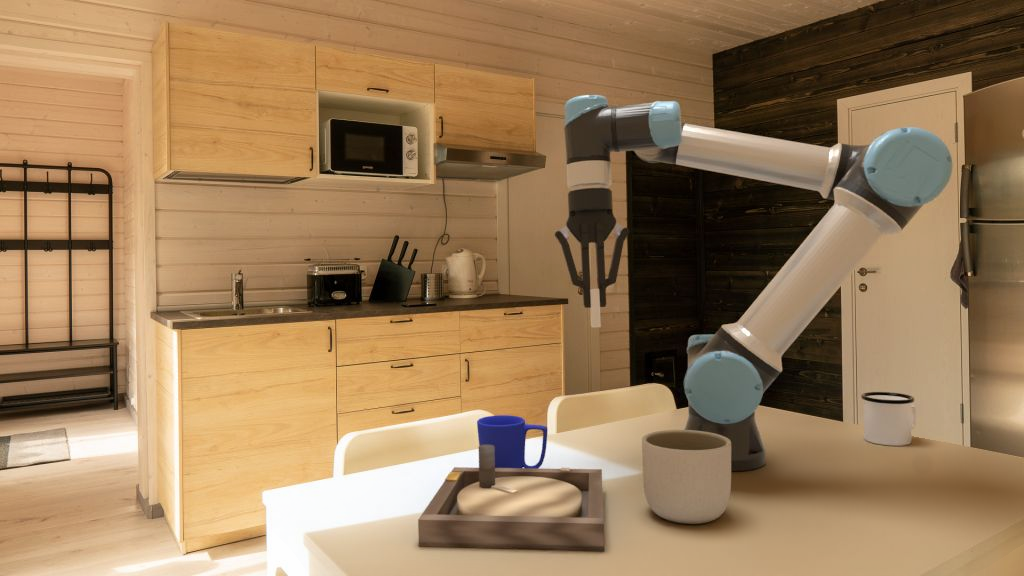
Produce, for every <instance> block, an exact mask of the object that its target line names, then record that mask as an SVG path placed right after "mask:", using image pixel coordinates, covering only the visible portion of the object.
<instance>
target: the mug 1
mask: <svg viewBox="0 0 1024 576" xmlns="http://www.w3.org/2000/svg"><path fill="white" fill-rule="evenodd" d="M476 424H477V425H476V426H477V436H478V447H479V446H480V445H494V448H495V468H541V466H542V465H543V464H544V460H545V457H546V451H547V445H548V443H547V442H548V427H547V426H546V425H541V424H530V423H529V424H528V423H526V420H525V418H523V417H521V416H516V415H509V414H505V415H503V414H501V415H500V414H499V415H490V416H484V417H481V418H479V419H477V421H476ZM531 430H539V431H542V447H541V453H540V457H539V460H538V462H537V463H536V464H535V465H528V464H527V463H526V459H525V458H526V457H525V456H526V440H527V439H526V438H527V432H528V431H531Z"/></svg>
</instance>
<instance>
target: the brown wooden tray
mask: <svg viewBox="0 0 1024 576" xmlns="http://www.w3.org/2000/svg"><path fill="white" fill-rule="evenodd" d="M602 469H603V468H599V469H598V468H592V469H591V468H570V467H561V468H542V467H539V468H524V467H523V468H495V478H501V477H513V476H532V477H544V478H551V479H556V480H560V481H564V482H566V483H569V484H571V485H573V486H575V487H577V488H578V489H579V490H580V492H581V494H582V514H581V516H580V518H573V517H526V516H479V515H458V509H457V496H458V493H459V492H460V491H461V490H462V489H464V488H465V487H467V486H469V485H471V484H474V483H477V482H479V467H465V466H463V467H460V466H459V467H457V466H456V467H455V466H454V467H453V468H452V470H451V471H449V473H448V475H446V477H445V478H444V481H443V482H442V484H441V486H440V487H439V489H438V490H437V492H436V493H435V494H434V496H433V497H432V499H431V500H430V501H429V503H428V505H427V506H426V508H425V509H424V510H423V511H422V513H421V515H420V516H419V517H418V520H417V525H418V526H417V527H418V530H417V531H418V547H434V548H435V547H436V548H437V547H438V548H440V547H441V548H468V549H469V548H471V549H472V548H476V549H477V548H478V549H506V550H508V549H509V550H510V549H511V550H512V549H514V550H515V549H516V550H542V551H543V550H547V551H548V550H551V551H552V550H553V551H555V550H556V551H584V552H585V551H587V552H588V551H589V552H591V551H592V552H605V520H604V519H605V518H604V517H605V516H604V514H605V513H604V497H603V496H604V491H603V489H604V488H603V470H602Z"/></svg>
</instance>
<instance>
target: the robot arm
mask: <svg viewBox="0 0 1024 576" xmlns="http://www.w3.org/2000/svg"><path fill="white" fill-rule="evenodd" d="M563 129H564V140H565V141H564V142H565V143H564V144H565V154H566V155H565V157H566V159H565V160H566V183H567V188H568V189H569V190H570V189H571V190H570V191H568V193H567V204H568V205H567V206H568V218H567V220H566V223H565V226H564V227H562V228H561V229H560V230H557V231H556V232H555V233H554V237H555V239H556V240H557V242H558V243H559V244H560V247H561V250H562V254H563V256H564V257H563V258H564V259H565V261H564V262H565V263H566V267H567V270H568V274H569V277H570V281H571V283H572V286H575V287H579V288H581V290H582V298H583V300H582V301H583V304H582V305H583V306H584V308H586V309H589V311H590V312H589V313H590V327H591V328H602V324H601V321H602V320H601V308H605V307H606V306H607V288H608V287H609V286H611V285H614V284H615V283H616V282H617V278H618V275H619V274H618V273H619V268H620V263H621V259H622V258H621V257H622V252H623V249H624V242H625V240H626V239H627V237H628V235H629V234H630V229H629V228H628V227H623V226H622V225H621V224H619V223H617V218H616V217H615V215H614V210H613V209H614V208H613V207H614V206H613V191H612V190H611V189H610V188H609V187H610V186H612V166H611V153H620V152H631V151H632V152H634V153H635V155H636V156H637V157H638V158H639V159H640V160H641V161H644V162H647V163H651V164H655V163H664V164H670V165H677V166H683V167H688V168H693V169H698V170H703V171H710V172H715V173H721V174H725V175H730V176H736V177H742V178H747V179H753V180H757V181H763V182H768V183H772V184H773V183H774V184H778V185H784V186H790V187H794V188H800V189H805V190H811V191H817V192H818V193H820V195H821V197H822V198H823V199H827V200H832V201H834V204H833V205H832V206H831V208H830V209H829V210H828V211H827V213H826V214H825V215H824V216H823V217H822V218H821V220H820V221H819V222H818V224H817V225H816V226H814V228H813V229H812V231H811V232H810V233H809V235H807V237H806V238H805V239H804V240H803V242H802V243H801V244H800V245H799V247H798V248H797V249H796V250H795V251H794V253H793V254H792V255H791V256H790V258H789V259H788V260H787V261H786V262H785V263H784V265H783V266H781V269H780V270H779V271H778V272H777V273H776V275H774V277H773V278H772V279H771V281H770V282H768V284H767V286H766V287H765V288H764V289H763V290H762V291H761V292H760V294H758V296H757V298H756V299H755V300H754V301H753V302H752V304H751V305H750V306H749V307H748V309H747V310H746V311H745V312H744V314H743V315H742V316H741V317H740V318H739V319H738V320H737V321H736V322H734V323H728V324H722V325H721V326H720V327H719V328H718V330H717V331H715V334H710V333H709V334H693V335H690V337H689V338H688V340H687V347H686V353H687V370H686V372H685V374H684V378H683V389H684V390H683V391H684V395H685V397H686V399H687V401H688V415H687V416H688V417H687V421H686V424H685V427H684V430H695V431H704V432H710V433H715V434H719V435H722V436H724V437H726V438H728V439H729V440H730V441H731V472H740V471H750V470H754V469H756V470H757V469H759V468H761V467H763V466H765V465H766V449H765V446H764V443H763V439H762V436H761V435H760V431H759V428H758V425H757V421H756V415H755V413H756V410H757V409H758V407H759V405H760V403H761V402H762V399H763V394H764V393H765V391H766V390H767V389H768V388H769V387H770V386H771V385H772V383H773V382H774V381H775V380H776V379H777V378H778V376H779V375H780V374H781V373H782V372H783V366H782V365H783V362H782V357H783V355H784V353H785V352H786V351H787V350H788V349H789V347H791V345H792V344H793V343H794V342H795V341H796V340H797V338H798V337H799V336H800V335H801V334H802V333H803V332H804V330H805V329H806V328H807V326H809V324H810V323H811V322H812V320H813V319H814V318H815V317H816V316H817V315H818V313H819V312H821V310H822V309H823V308H824V307H825V305H826V304H827V303H828V302H829V301H830V299H832V297H833V296H834V295H835V293H836V292H837V291H838V290H839V289H840V288H841V286H842V285H843V284H844V283H845V282H846V280H847V279H848V278H849V277H850V276H851V275H852V273H853V272H855V270H856V269H857V267H858V266H860V264H861V263H862V262H863V261H864V259H865V258H866V257H867V256H868V255H869V254H870V252H871V251H872V250H873V249H874V248H875V246H876V245H877V244H878V243H879V241H881V239H882V238H883V237H885V236H888V235H895V234H899V233H901V232H902V231H903V229H904V228H905V227H906V226H907V225H908V224H909V223H910V221H911V220H912V219H913V218H914V217H915V216H916V214H918V212H919V211H920V210H921V208H922V207H923V206H924V205H926V204H928V203H929V202H932V201H933V200H934V199H937V197H939V196H940V195H941V193H942V192H943V191H944V190H945V188H946V187H947V186H948V184H949V182H950V180H951V177H952V174H953V167H954V165H953V160H952V159H953V158H952V154H951V151H950V150H949V148H948V146H947V144H946V143H945V142H944V141H943V140H942V139H941V138H940V137H939V136H938V135H937V134H935V133H934V132H931V131H929V130H927V129H925V128H921V127H914V126H907V127H899V128H894V129H891V130H888V131H886V132H883V133H882V134H880V135H879V136H878V137H876V138H875V139H874V140H873V141H872V142H871V143H869V144H862V145H857V144H856V145H855V144H847V143H841V142H838V143H836V144H834V145H832V146H831V147H828V146H821V145H816V144H810V143H804V142H798V141H792V140H786V139H781V138H775V137H768V136H762V135H757V134H756V135H755V134H751V133H743V132H739V131H733V130H726V129H721V128H715V127H709V126H703V125H698V124H690V123H683V122H682V114H681V106H680V104H679V102H678V101H675V100H674V101H673V100H671V101H670V100H669V101H668V100H667V101H666V100H665V101H661V100H656V101H653V102H646V103H637V104H631V105H622V106H621V105H620V106H610V105H609V101H608V99H607V97H606V96H604V95H599V94H586V95H578V96H575V97H573V98H569V99H568V100H567V101H566V103H565V105H564V125H563ZM613 230H614V233H613V235H614V237H615V238H616V239H615V240H614V245H613V250H612V256H611V260H610V266H609V271H608V276H607V278H606V264H605V263H606V262H605V242H606V240H607V239H608V238H609V236H610V234H611V233H612V232H613ZM569 232H570V233H571V235H572V236H573V237H574V238H575V240H576V241H577V242H578V243H579V244H580V261H581V263H580V264H581V279H580V277H579V274H578V270H577V267H576V264H575V260H574V258H573V255H572V250H571V247H570V244H569V241H568V240H569V239H570V234H569ZM591 243H593V244H595V245H594V246H595V247H594V248H595V261H596V262H595V263H596V284H597V288H591V269H590V267H591V266H590V244H591Z"/></svg>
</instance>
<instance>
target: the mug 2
mask: <svg viewBox="0 0 1024 576" xmlns="http://www.w3.org/2000/svg"><path fill="white" fill-rule="evenodd" d="M860 398H861V399H862V400H863V439H864V440H865V441H867V442H869V443H871V444H874V445H880V446H888V447H903V446H907V445H910V444H911V443H912V429H914V428H915V427H916V424H917V408H916V406H915V405H913V404H912V403H914V402H915V397H914V396H913V395H908V394H905V393H900V392H899V393H898V392H889V391H868V392H864V393H861V395H860Z"/></svg>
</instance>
